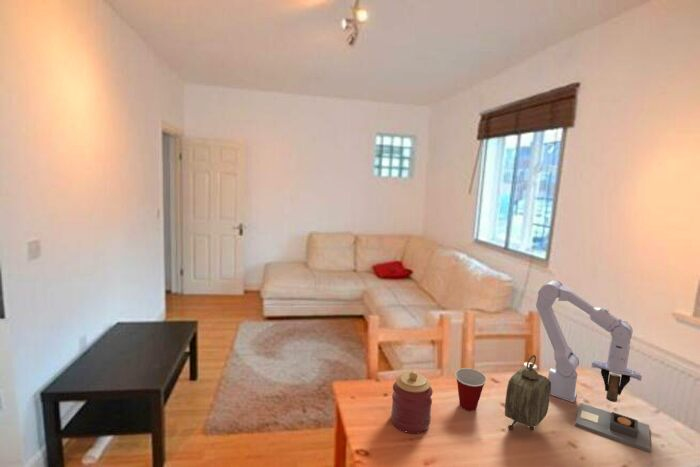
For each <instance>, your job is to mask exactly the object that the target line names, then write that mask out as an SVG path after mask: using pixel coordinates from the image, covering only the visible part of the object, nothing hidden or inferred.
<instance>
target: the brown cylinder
mask: <svg viewBox="0 0 700 467" xmlns="http://www.w3.org/2000/svg"><path fill="white" fill-rule="evenodd" d="M620 381H621V376H620V375H619V374H615V373H609V379H608V390H607V391H606V396H605V398H606V400H607V401H610V402H612V403H617V401H618V398H619V397H618V396H619V395H618V391H619V386H620Z"/></svg>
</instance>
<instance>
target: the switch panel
mask: <svg viewBox="0 0 700 467" xmlns="http://www.w3.org/2000/svg"><path fill="white" fill-rule="evenodd" d="M579 403H580V404H579V408H578V411H577V415H576V418H575V422H574V426H576V427H578V428H581V429H583V430H586V431H589V432H592V433H595V434H598V435H601V436H604V437H606V438H609V439H612V440H615V441H618V442H620V443H623V444H625V445H628V446H631V447H634V448H637V449H639V450H643V451H644V452H647V453H650V452H651V438H650V437H651V436H650V434H651V432H650V424H648V423H647V424H646V423H643V422H642V421H641V422H640V421H639V420H637V419H635V418H632V417H629V416H625V415H623V414H620V413H616V412H614V411H611V412H610V411H607V410H604V409H601V408H599V407H595V406H592V405H589V404H586V403H583V402H579ZM618 417H624V418H626V419H628V420H630V421H631V426H629V427H627V426H624V425H621V424H619V423H618V422H617V420H618Z"/></svg>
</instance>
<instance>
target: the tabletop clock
mask: <svg viewBox="0 0 700 467" xmlns="http://www.w3.org/2000/svg"><path fill="white" fill-rule="evenodd" d="M532 359H534V361H533V362H532V363H533V364H529V363H531V360H532ZM536 362H537V356H536V355H535V354H532V355H530V356H529V358H528V360H527V368H525V369H523V368H524V367H523V368H520V369H519V370H517V371H516V372H515V373H514V374H513V375H512V376H511V377H510V378H509V380H508V383H507V387H506V392H505V393H506V394H505V403H504V416H505V417H506V418H508V419H511V420H513V422H512V423H511V424H508V426H507V429H508V430H509V431H513V430H514V426H515V425H516V424H517V423H520V424H521V425H523V426H525V427H527V428H528V429H529V431H535V427H537V426H538V425H539V424H541V422H542V421H543V420H544V419H545V418H546V416H547V414H548V410H549V405H550V399H551V395H550V391H551V382H550V380H549V379H548V377H547V376H545V375H542V374H540V373H538V371H537V370H535V369H532V368H533V366H534V364H535V365H536ZM528 364H529V367H528Z"/></svg>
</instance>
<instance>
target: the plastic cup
mask: <svg viewBox="0 0 700 467" xmlns="http://www.w3.org/2000/svg"><path fill="white" fill-rule="evenodd" d="M454 376H455V379H456V384H457V391H458V400H459V401H458V402H459V406H460V408H461V407H462V408H461V409H463V410H464V409H465V411H467V410H468V412H472V411H473V412H474V411H476V409H477V407H478V404H479V401H480V399H481V396H482V391H483V388H484V386H485V384H486V383H487V376H486V375H485V374H484V373H483V372H481V371H479V370H477V369H474V368H469V367H463V368H458V369H457V370H456V371H455V373H454Z"/></svg>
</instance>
